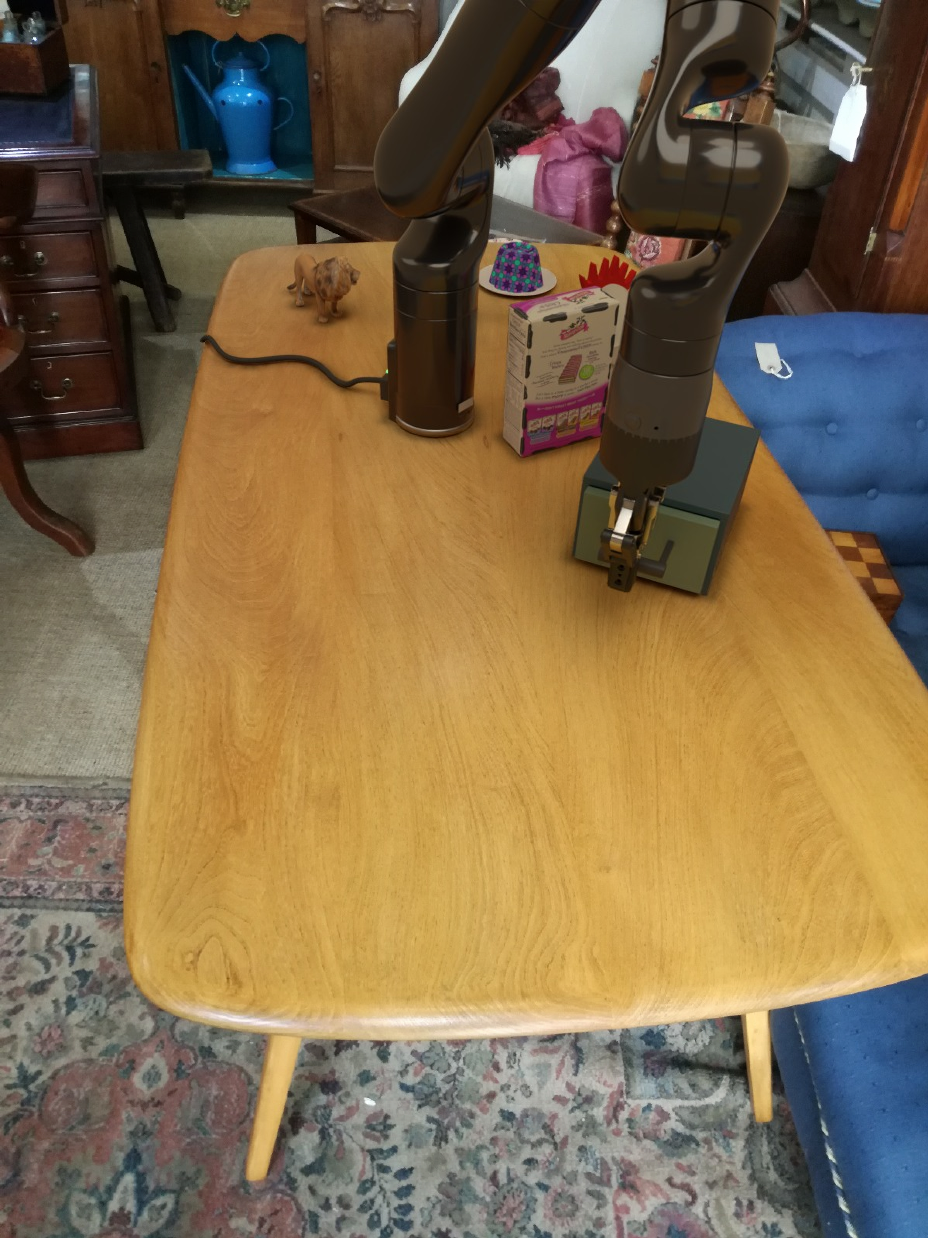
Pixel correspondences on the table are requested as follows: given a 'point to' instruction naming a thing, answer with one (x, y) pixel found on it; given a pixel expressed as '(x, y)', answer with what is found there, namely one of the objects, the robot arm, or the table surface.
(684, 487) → the cabinet
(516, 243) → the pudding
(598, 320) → the candy bar box
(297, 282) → the lion figurine
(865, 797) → the table surface
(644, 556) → the drawer
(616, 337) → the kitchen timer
